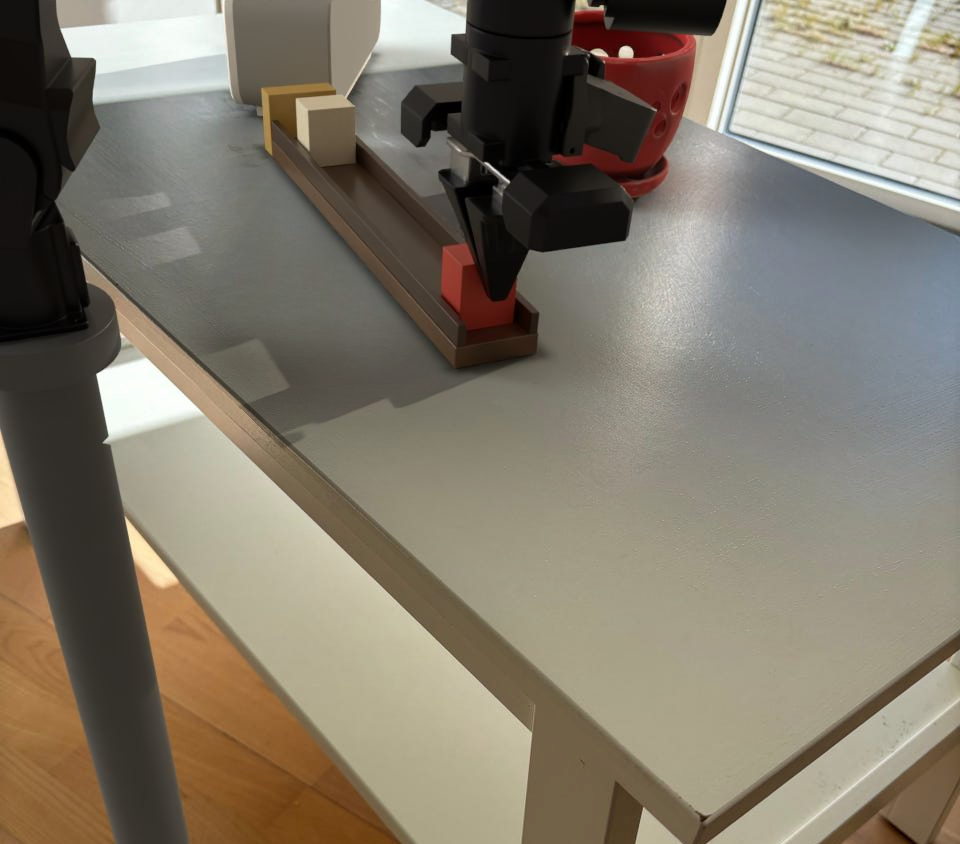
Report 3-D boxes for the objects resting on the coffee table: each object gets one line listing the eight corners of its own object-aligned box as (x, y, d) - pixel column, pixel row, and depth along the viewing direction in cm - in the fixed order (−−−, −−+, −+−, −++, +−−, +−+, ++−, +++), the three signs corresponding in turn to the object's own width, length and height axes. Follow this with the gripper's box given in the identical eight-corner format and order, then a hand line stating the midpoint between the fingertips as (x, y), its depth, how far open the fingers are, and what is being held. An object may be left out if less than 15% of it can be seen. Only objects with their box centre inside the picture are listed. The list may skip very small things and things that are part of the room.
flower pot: (538, 145, 100) (552, -1, 92) (679, 168, 99) (707, 20, 90) (505, 197, 91) (517, 39, 83) (660, 223, 89) (688, 64, 81)
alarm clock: (296, 39, 119) (291, -89, 111) (381, 48, 119) (381, -80, 111) (231, 123, 99) (218, -26, 91) (332, 134, 99) (328, -15, 91)
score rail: (454, 369, 70) (456, 326, 68) (272, 156, 94) (269, 120, 92) (536, 354, 72) (541, 312, 70) (337, 150, 96) (336, 114, 94)
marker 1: (310, 168, 89) (307, 110, 86) (298, 155, 91) (295, 98, 88) (356, 163, 90) (355, 106, 87) (343, 150, 92) (342, 94, 89)
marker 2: (458, 332, 71) (462, 266, 67) (439, 311, 72) (442, 246, 69) (513, 323, 72) (519, 257, 69) (493, 303, 74) (498, 238, 71)
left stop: (272, 156, 94) (268, 95, 91) (265, 148, 95) (260, 87, 92) (337, 150, 96) (336, 89, 93) (330, 142, 98) (328, 82, 94)
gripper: (745, 67, 55) (684, 348, 65) (567, -27, 67) (541, 224, 77) (550, 83, 51) (519, 379, 62) (399, -20, 63) (395, 244, 73)
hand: (496, 298), depth 69 cm, fingers closed
